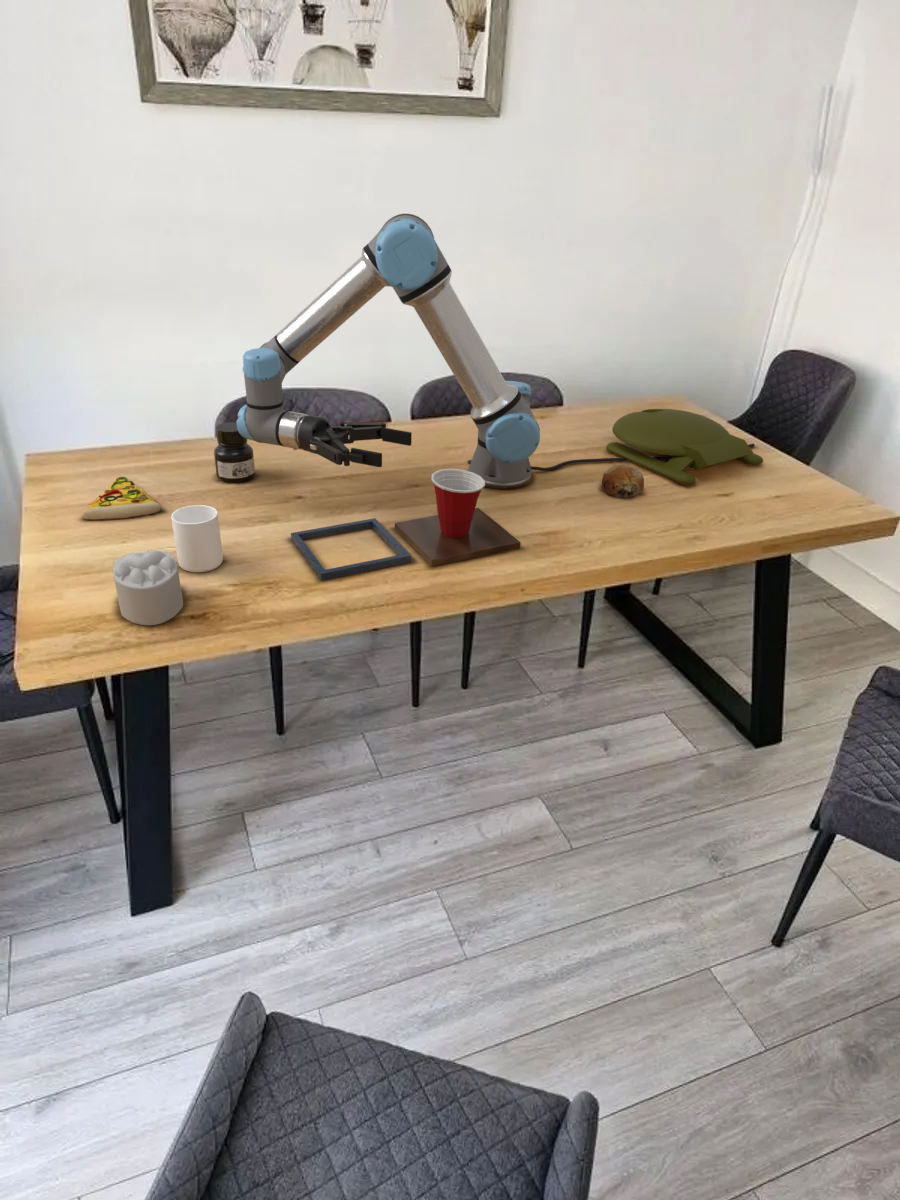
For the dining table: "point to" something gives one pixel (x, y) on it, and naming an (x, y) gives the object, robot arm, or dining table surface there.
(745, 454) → the spaceship
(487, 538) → the walnut board
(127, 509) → the pizza slice
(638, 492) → the bread roll
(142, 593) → the egg container
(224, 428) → the ink bottle
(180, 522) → the mug
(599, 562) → the dining table surface
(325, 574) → the square frame
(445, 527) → the plastic cup
